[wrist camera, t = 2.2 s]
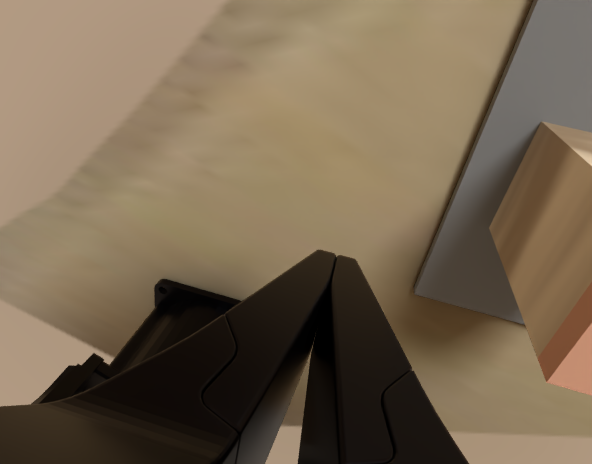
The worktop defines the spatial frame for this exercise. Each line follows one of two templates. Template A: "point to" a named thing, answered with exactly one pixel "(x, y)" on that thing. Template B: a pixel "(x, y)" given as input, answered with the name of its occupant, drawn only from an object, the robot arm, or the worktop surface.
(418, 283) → the mat
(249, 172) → the worktop surface
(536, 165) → the block
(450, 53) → the worktop surface
